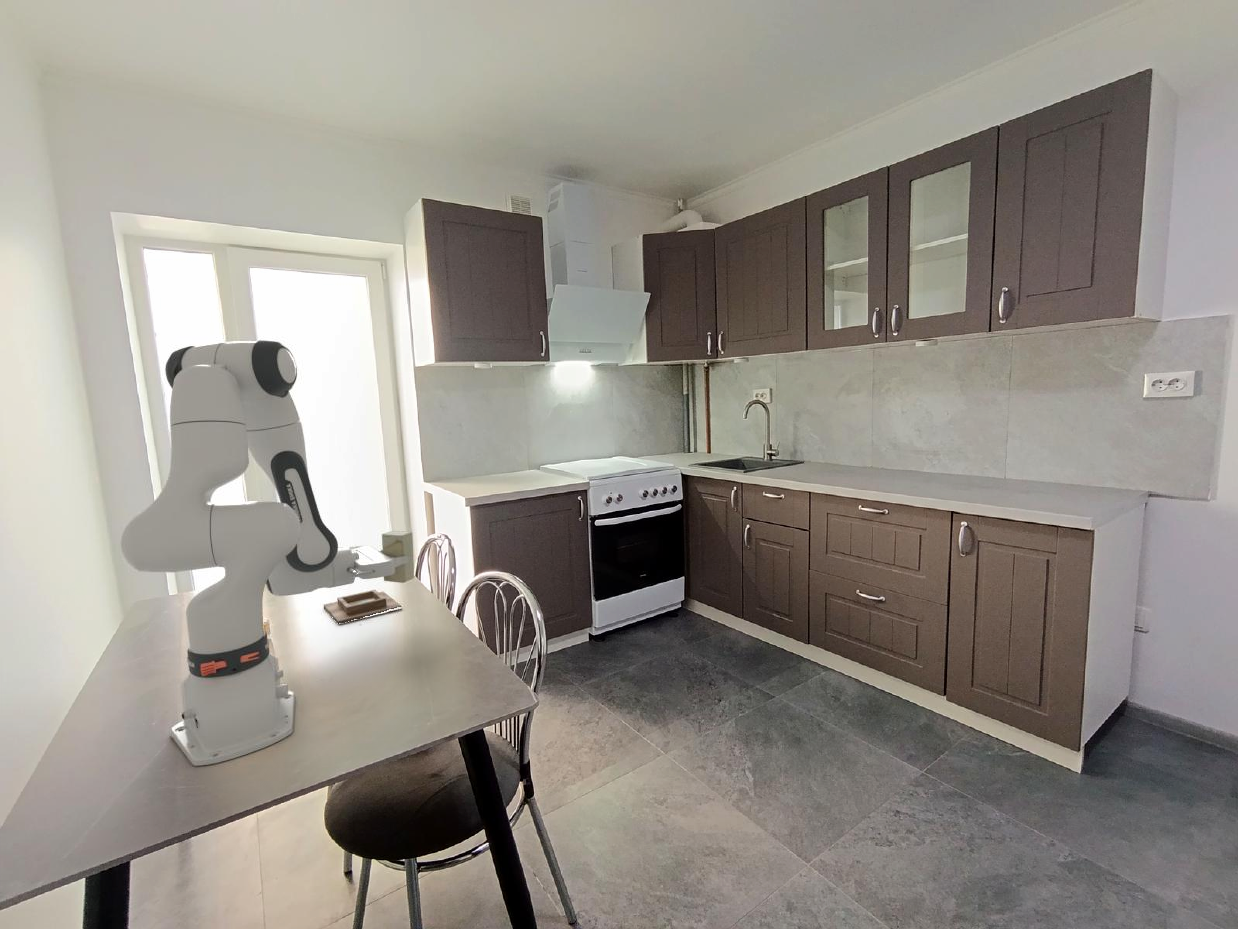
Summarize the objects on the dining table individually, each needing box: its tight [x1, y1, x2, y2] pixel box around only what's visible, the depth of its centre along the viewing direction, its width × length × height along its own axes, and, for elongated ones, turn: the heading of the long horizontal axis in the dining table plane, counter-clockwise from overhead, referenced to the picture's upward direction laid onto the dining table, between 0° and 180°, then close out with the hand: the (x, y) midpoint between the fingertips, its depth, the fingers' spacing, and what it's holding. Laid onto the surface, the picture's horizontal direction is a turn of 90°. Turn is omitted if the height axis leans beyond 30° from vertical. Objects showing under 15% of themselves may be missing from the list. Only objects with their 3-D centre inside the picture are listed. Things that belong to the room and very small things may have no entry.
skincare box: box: [381, 530, 415, 584], centre depth 144 cm, size 6×4×12 cm
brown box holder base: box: [323, 589, 402, 625], centre depth 157 cm, size 16×16×3 cm
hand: (401, 555), depth 145 cm, fingers closed on skincare box, 7 cm apart
